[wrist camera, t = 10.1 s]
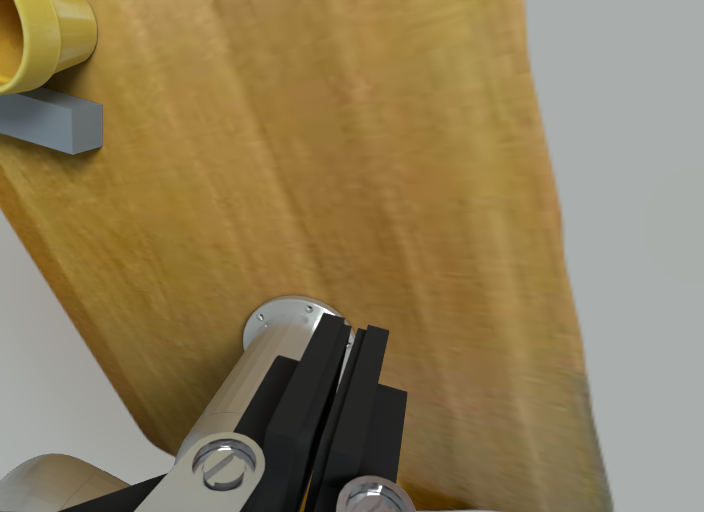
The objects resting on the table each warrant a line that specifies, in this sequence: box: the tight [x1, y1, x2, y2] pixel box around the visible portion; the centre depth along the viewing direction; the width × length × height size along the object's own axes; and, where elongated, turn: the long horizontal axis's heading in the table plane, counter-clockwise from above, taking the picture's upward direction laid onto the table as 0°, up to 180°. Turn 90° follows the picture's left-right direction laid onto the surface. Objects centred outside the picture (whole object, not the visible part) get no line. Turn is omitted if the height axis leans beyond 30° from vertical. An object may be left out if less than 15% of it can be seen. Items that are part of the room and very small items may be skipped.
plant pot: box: [0, 0, 97, 95], centre depth 37 cm, size 10×10×10 cm
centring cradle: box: [0, 87, 103, 155], centre depth 40 cm, size 21×12×4 cm, turn 166°
